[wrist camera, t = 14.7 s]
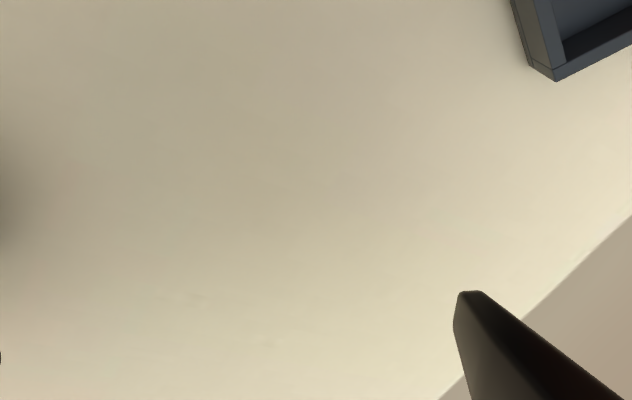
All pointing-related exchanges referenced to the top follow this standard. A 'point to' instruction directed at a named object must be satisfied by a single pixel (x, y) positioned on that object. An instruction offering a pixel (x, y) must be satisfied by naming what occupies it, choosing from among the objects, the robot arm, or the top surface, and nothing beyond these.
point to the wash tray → (571, 32)
